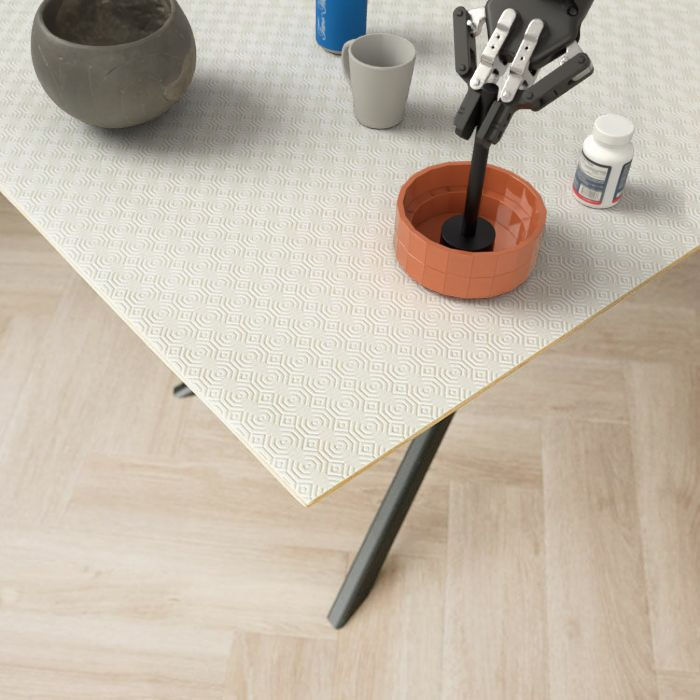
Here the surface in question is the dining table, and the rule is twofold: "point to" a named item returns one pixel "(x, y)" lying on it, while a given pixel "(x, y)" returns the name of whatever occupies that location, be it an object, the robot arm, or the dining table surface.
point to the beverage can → (339, 22)
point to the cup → (379, 77)
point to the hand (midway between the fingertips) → (471, 140)
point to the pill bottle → (604, 162)
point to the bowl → (113, 58)
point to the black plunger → (473, 195)
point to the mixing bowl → (449, 200)
